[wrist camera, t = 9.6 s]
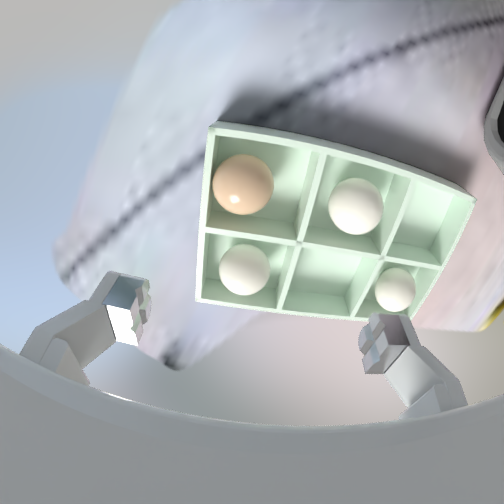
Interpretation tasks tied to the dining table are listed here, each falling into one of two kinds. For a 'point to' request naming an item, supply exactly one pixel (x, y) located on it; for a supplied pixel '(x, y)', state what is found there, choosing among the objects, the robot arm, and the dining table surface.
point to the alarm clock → (496, 128)
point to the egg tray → (325, 226)
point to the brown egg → (243, 184)
